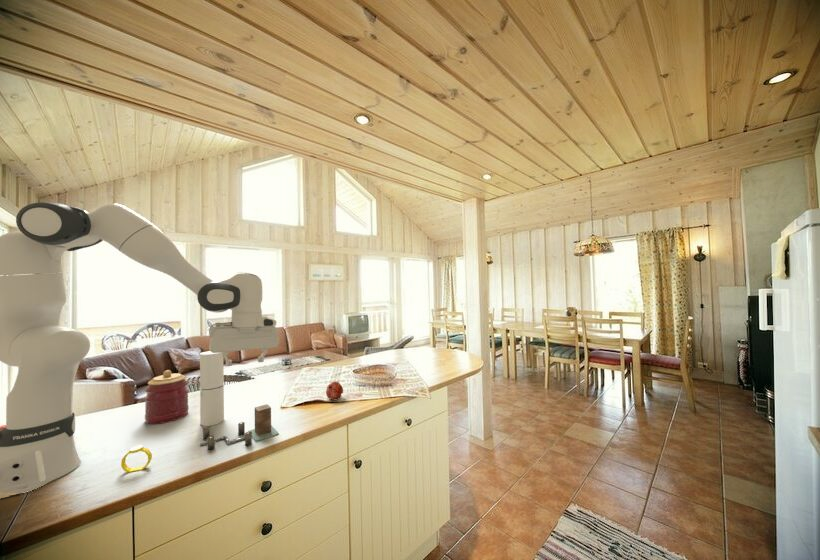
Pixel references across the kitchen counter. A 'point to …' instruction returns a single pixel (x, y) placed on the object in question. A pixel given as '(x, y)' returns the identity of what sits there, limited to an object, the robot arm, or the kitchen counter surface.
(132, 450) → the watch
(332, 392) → the pomegranate
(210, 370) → the cylindrical container
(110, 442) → the kitchen counter surface
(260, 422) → the block
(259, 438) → the mat
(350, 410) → the kitchen counter surface
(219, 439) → the wire
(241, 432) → the gates
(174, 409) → the canister
